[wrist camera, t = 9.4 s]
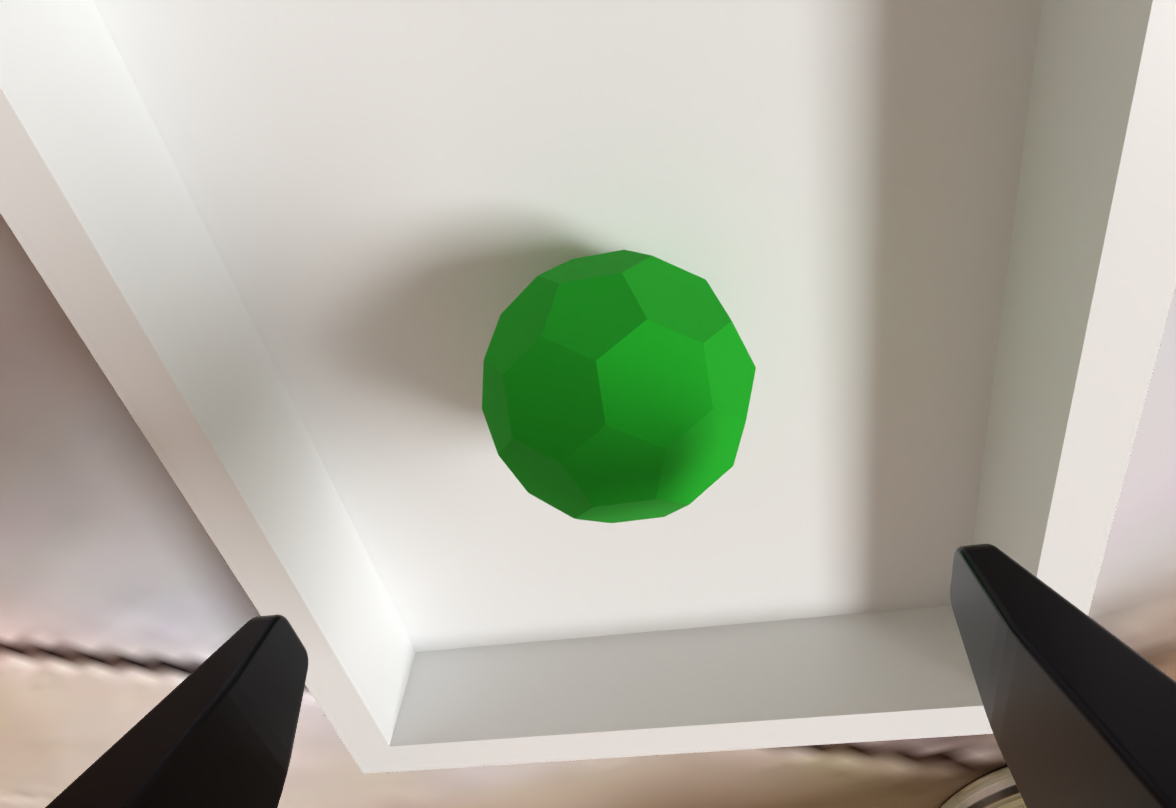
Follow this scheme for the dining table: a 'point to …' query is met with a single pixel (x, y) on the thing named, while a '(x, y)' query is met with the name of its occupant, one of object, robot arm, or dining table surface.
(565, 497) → the polyhedron
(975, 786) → the coffee can
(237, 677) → the robot arm
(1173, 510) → the dining table surface
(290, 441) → the white tray
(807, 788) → the dining table surface
